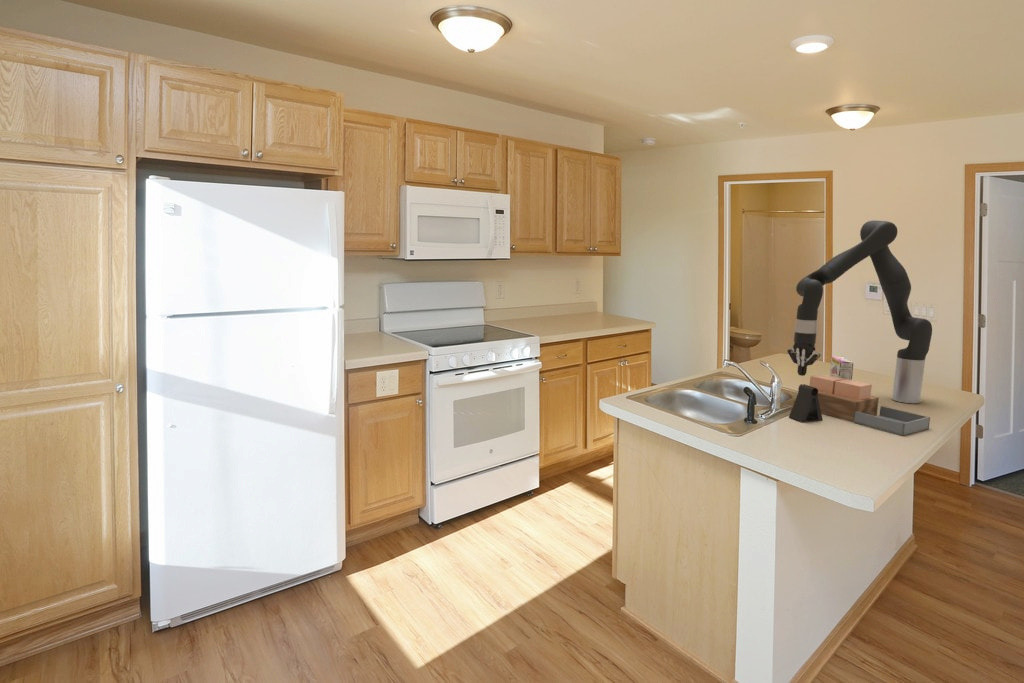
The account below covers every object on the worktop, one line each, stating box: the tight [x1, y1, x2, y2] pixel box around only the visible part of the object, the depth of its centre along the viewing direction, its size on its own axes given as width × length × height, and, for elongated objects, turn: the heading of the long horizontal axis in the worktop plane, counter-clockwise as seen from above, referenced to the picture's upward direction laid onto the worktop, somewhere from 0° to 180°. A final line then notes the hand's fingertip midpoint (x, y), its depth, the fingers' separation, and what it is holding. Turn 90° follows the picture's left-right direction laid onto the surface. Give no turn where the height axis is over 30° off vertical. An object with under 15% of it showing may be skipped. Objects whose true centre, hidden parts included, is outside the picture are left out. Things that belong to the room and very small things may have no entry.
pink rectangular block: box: [808, 373, 845, 394], centre depth 216 cm, size 7×9×5 cm
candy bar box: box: [829, 356, 854, 380], centre depth 230 cm, size 11×5×16 cm, turn 168°
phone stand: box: [788, 383, 823, 423], centre depth 203 cm, size 9×6×12 cm, turn 104°
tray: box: [853, 405, 931, 437], centre depth 197 cm, size 16×16×4 cm
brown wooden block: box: [818, 391, 880, 423], centre depth 213 cm, size 14×20×7 cm
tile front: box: [834, 379, 873, 400], centre depth 208 cm, size 7×9×5 cm
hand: (801, 375), depth 225 cm, fingers closed
